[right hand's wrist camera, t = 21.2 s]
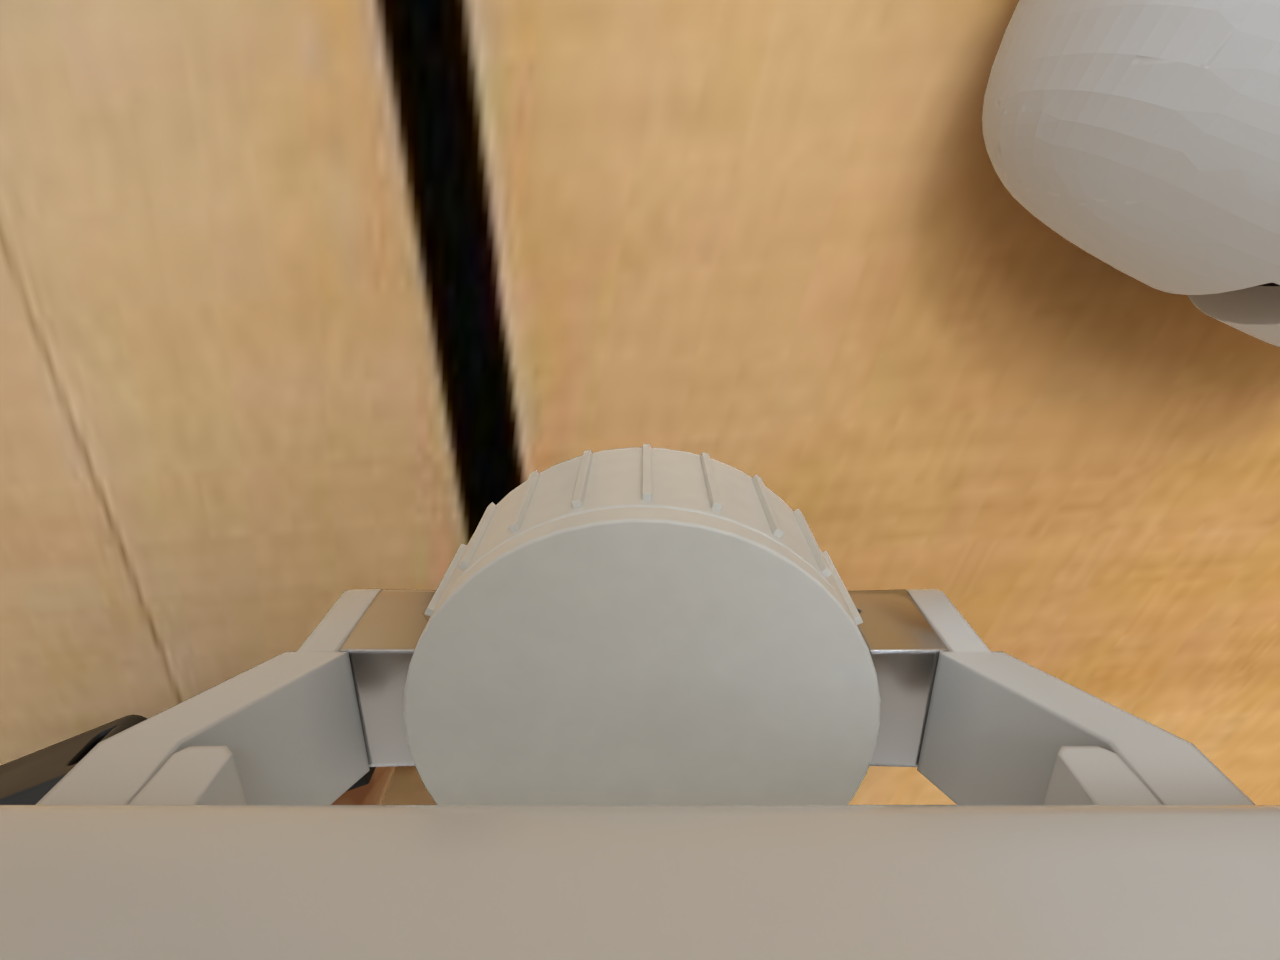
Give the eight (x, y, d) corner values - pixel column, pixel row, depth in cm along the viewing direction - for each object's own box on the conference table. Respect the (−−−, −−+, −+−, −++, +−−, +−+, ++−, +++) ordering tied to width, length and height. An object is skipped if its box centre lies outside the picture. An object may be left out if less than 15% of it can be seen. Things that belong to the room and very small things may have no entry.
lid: (875, 459, 9) (944, 535, 7) (800, 784, 11) (835, 916, 9) (444, 422, 9) (384, 490, 7) (451, 759, 11) (406, 889, 9)
